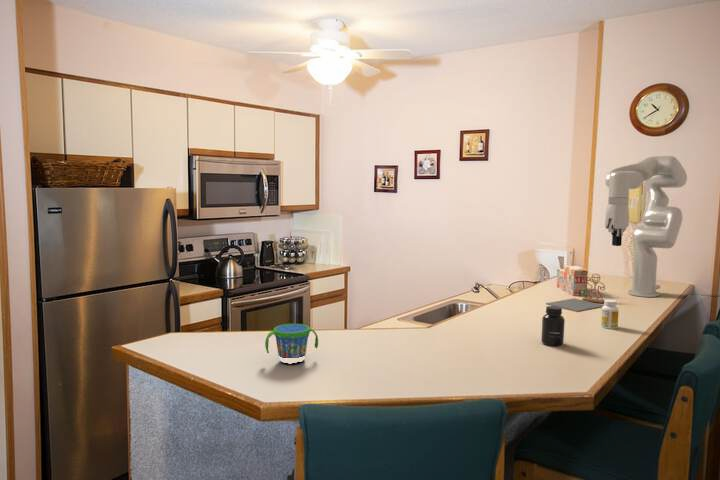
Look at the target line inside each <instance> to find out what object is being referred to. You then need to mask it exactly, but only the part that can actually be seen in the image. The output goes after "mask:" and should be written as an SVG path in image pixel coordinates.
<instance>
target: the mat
mask: <svg viewBox="0 0 720 480" xmlns="http://www.w3.org/2000/svg"><path fill="white" fill-rule="evenodd" d="M545 305H547V306H557V307H561V308H562V310H563V309H564V310H568V311H572V312H576V313H579V312H583V311H588V310H594V309H599V308H602V307H603V306H605V304H603V303H598V302H591V301H584V300H582V299H577V298H568V299H567V298H566V299H563V300H562V299H561V300H557V301H549V302H545ZM578 311H579V312H578Z"/></svg>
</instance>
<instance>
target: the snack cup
mask: <svg viewBox="0 0 720 480" xmlns="http://www.w3.org/2000/svg"><path fill="white" fill-rule="evenodd" d="M310 332H312V333H313V335H315V339H314V348H315V349H318V347H319V337H318V334H317V332H316V331H315V330H314V329H312V327H310V326H308V325H307V324H302V323H287V324H286V323H284V324H280V325H278V326H275V327H274V328H273V330H271V331H270V332H269V333H268V334H267V336H266V339H265V341H264V346H265V349H266V352H267V354H269V353H270V351H269V343H270V342H269V339H270V338H271V337H272V336H273V335H274V337H275V341H276V349H277V354H278V357H279V356H280V357H282V358H299V357H303V356H305V355H307V349H308V348H307V347H308V339H309V336H310ZM305 357H306V356H305Z"/></svg>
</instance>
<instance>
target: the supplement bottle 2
mask: <svg viewBox="0 0 720 480" xmlns="http://www.w3.org/2000/svg"><path fill="white" fill-rule="evenodd" d="M604 300H605V301H604V303H603V305H605V306H603V307H601V323H600V324H601V327H602V328H604V329H609V330H615V329H618V327H619V307H618V306H617V303H618V301H617V300H614V299H604Z"/></svg>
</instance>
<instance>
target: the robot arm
mask: <svg viewBox="0 0 720 480" xmlns="http://www.w3.org/2000/svg"><path fill="white" fill-rule="evenodd" d="M687 180H688V175H687V172H686V170H685V167H683V164H682V163H681V161H680V160H679V159H677V158H676V157H675V156H672V155H662V156H661V155H660V156H658V155H657V156H649V157H646V158H644V159H642V160H641V161H639V162H637V163H633V164H629V165H624V166H619V167H617V168H614V169H612V170H610V171H608V173H607V175H606V176H605V185H606V187H607V188H608V202H607V203H608V204H607V207H606V212H605V220H604V221H605V222H604V228H605V229H608V230H607V231H608V233H609V234H610V233H611V237H612V239H611V246H614V247H622V241H623V240H622V239H623V235H624V232H625V231H626V230H627V228H628V227H629V224H630V212H629V198H630V195H629V194H630V190H636V189H639V188H640V187H641V186H642V185H643V183H644V182H645V183H644V184H645V188H646V192H647V195H648V196H647V197H648V198H647V201H646V204H645V208H644V211H643V213H642V214H643V215H642V218H641V219H642V223H643V224H644V225H639V226H637V227H635V228H634V229H633V231H632V235H631V236H632V243H633V263H632V264H633V265H632V286H631V287H632V288H631V289H628V291H627V292H628V294H629V295H632V296H635V297H642V298H657V297H659V296H660V292H658V291H657V290H659V289H660V288H661V285H660V284H657V269H658V256H657V253H656V251H655V250H654V249H656V248H657V249H671V248H673V247H674V246H675V244H676V241H677V240H678V236H679V233H680V230H681V229H680V228H681V226H682V222H683V212H682V210H681V208H679V207H677V206H668V205H669V202H670V199H669V197H668V195H667V193H666V192H665V191H664V190H663V189H664V188H668V189H669V188H671V189H673V188H682V187H683V186H685V185H686V183H687ZM662 188H663V189H662Z"/></svg>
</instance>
